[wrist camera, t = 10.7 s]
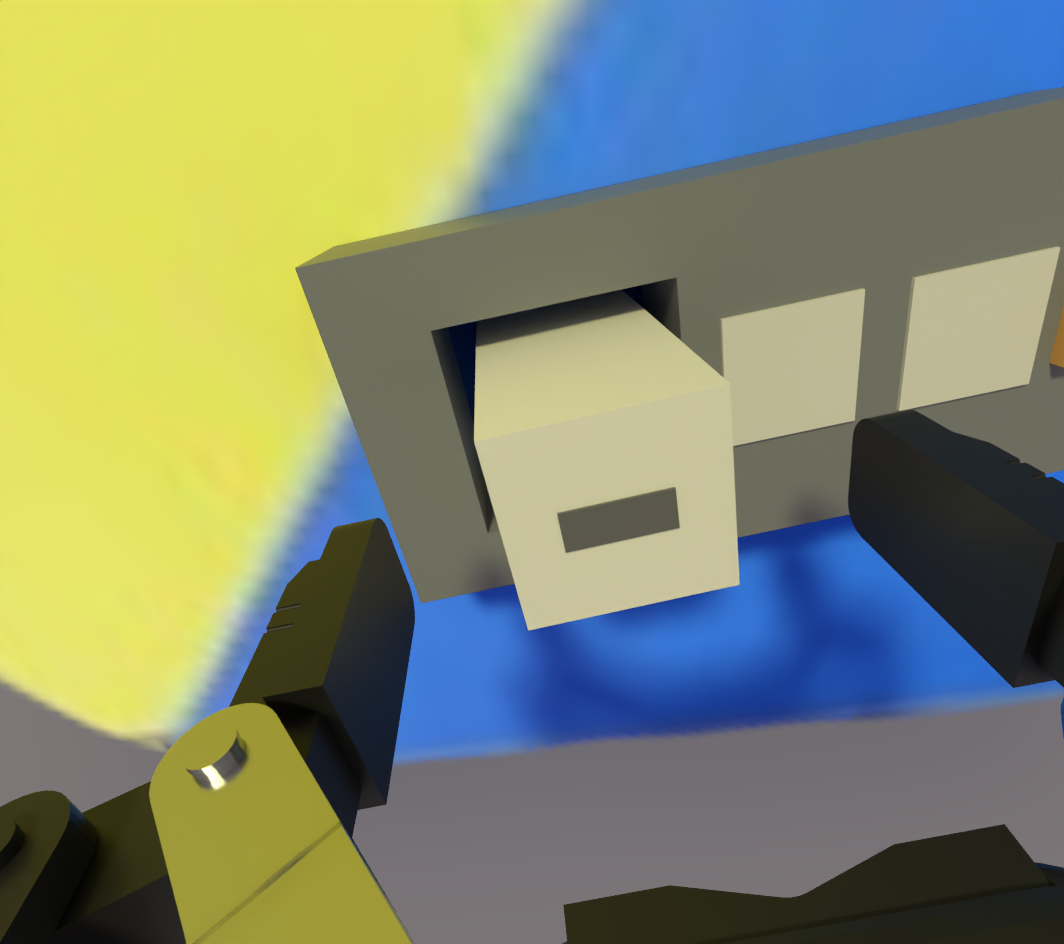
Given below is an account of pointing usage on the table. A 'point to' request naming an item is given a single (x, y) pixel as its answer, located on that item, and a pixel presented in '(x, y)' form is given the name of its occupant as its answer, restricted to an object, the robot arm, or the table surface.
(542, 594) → the cream rectangular block
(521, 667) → the table surface
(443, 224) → the power strip
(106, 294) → the table surface
